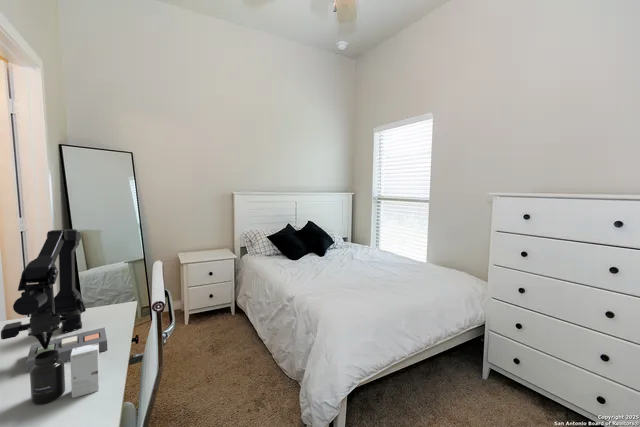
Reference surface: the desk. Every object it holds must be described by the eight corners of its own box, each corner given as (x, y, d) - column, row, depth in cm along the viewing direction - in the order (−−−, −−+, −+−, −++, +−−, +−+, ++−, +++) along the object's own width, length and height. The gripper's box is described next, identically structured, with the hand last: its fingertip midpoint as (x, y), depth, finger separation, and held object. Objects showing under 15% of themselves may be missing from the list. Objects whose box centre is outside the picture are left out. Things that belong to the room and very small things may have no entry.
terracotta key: (85, 343, 105) (84, 336, 105) (98, 339, 108) (98, 333, 107) (85, 348, 102) (84, 341, 102) (99, 344, 105) (99, 337, 104)
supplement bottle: (36, 409, 75) (33, 365, 74) (28, 399, 79) (24, 356, 78) (70, 393, 81) (67, 352, 80) (60, 384, 85) (57, 345, 84)
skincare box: (71, 399, 79) (68, 356, 78) (73, 389, 83) (71, 348, 82) (100, 390, 83) (97, 349, 82) (101, 381, 86) (98, 342, 85)
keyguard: (32, 354, 99) (31, 344, 99) (105, 336, 112) (104, 327, 112) (27, 372, 90) (26, 361, 90) (107, 349, 103) (106, 340, 102)
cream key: (62, 346, 101) (62, 339, 101) (77, 342, 104) (77, 335, 104) (62, 351, 98) (61, 344, 98) (77, 347, 101) (77, 340, 100)
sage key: (38, 355, 98) (38, 347, 97) (54, 350, 100) (54, 343, 100) (37, 360, 94) (36, 353, 94) (54, 356, 97) (53, 349, 97)
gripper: (-6, 319, 84) (-1, 371, 85) (79, 303, 95) (82, 349, 97) (2, 306, 92) (6, 354, 94) (79, 293, 104) (82, 336, 105)
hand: (45, 348), depth 97 cm, fingers closed, pressing on sage key
